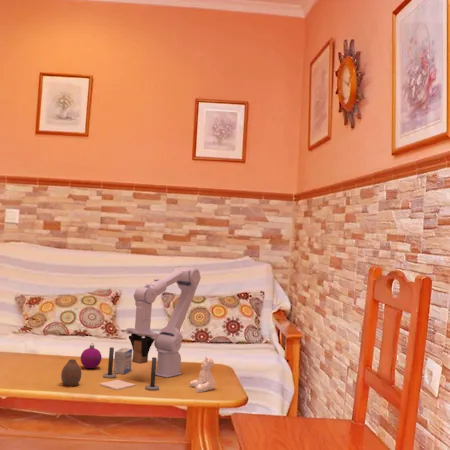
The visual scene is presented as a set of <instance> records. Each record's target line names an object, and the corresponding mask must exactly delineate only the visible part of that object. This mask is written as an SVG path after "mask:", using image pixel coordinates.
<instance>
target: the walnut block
mask: <svg viewBox="0 0 450 450" xmlns="http://www.w3.org/2000/svg"><path fill="white" fill-rule="evenodd" d="M148 361H149V355H148V356H147V357H142V342H141V340H134V345H133V348H132V362H131V363H135V364H141V365H142V364H146V363H148Z"/></svg>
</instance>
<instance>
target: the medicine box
mask: <svg viewBox="0 0 450 450" xmlns="http://www.w3.org/2000/svg"><path fill="white" fill-rule="evenodd" d="M132 359H133V348H127V347H124V348H120V349H118V350H114V357H113V374H116V375H125V374H126V373H128V372H130V371H131V370H132V363H133V362H132Z"/></svg>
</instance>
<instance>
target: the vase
mask: <svg viewBox="0 0 450 450" xmlns="http://www.w3.org/2000/svg"><path fill="white" fill-rule="evenodd" d="M60 376H61V377H60V378H61V383H62V384H63V385H64V386H66V387H75V386H78V384H79V383H80V381H81V380H82V379H81V378H82V368H81V366H80V365H79V364H78V362H77V360H76V359H74V358H73V359H71V358H70V359H69V360H68V361H67V363H66V364H65V365H64V366H63V368H62V370H61V374H60Z"/></svg>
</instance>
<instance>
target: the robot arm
mask: <svg viewBox="0 0 450 450" xmlns="http://www.w3.org/2000/svg"><path fill="white" fill-rule="evenodd" d="M201 279H202V277H201V273H200V270H199V269H198V268H197V267H185V266H183V267H182V266H177V267H176V268H173V271H172V272H170V273H169V274H167V275H166V276H165V277H163V278H157V277H155V278H154V280H153V281H151V282H150V283H146V284H145V286H139V287H138V288H136V289H135V291H134V294H133V298H134V301H135V306H136V307H135V321H134V323H135V324H134V328H132V327H129V328H126V334H127V335H129V334H131V335H129V336H128V339H129V341H130V343H131V347H132V348H131V349H133V345H134V340H141V342H142V357H147V356H148V357H149V353H150V350H151V347H152V345H153V344H154V348H155V349H156V352H157V360H156V374H155V376H159V377H163V378H170V377H171V378H172V377H174V376H179V375H182V372H181V365H182V356H181V354H180V353H179V351H180V349H181V347H182V340H183V339H184V336H183V334H182V333H181V329H182V326H183V323H184V321H185V318H186V316H187V313H188V311H189V310H190V309H189V308H190V306H191V304H192V301H193V300H194V297H195V293H196V291H197V288H198V286H199V283H200V281H201ZM175 283H176V285H177V287H178V289H180V291H181V292H180V295H179V296H178V298H177V301H176V304H175V306H174V309H173V311H172V313H171V316H170V318H169V321H168V323H167V325H166V326H165V327H163V328H161V329H160V330H159V333H158V332H154V331H152V330H151V321H152V310H153V309H152V307H153V304H154V302H155V300H156V299H157V297H158V296H160V295H161V294H163V293H165V292H166V290H167V288H168V287H169V286H171V285H174V284H175Z"/></svg>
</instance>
